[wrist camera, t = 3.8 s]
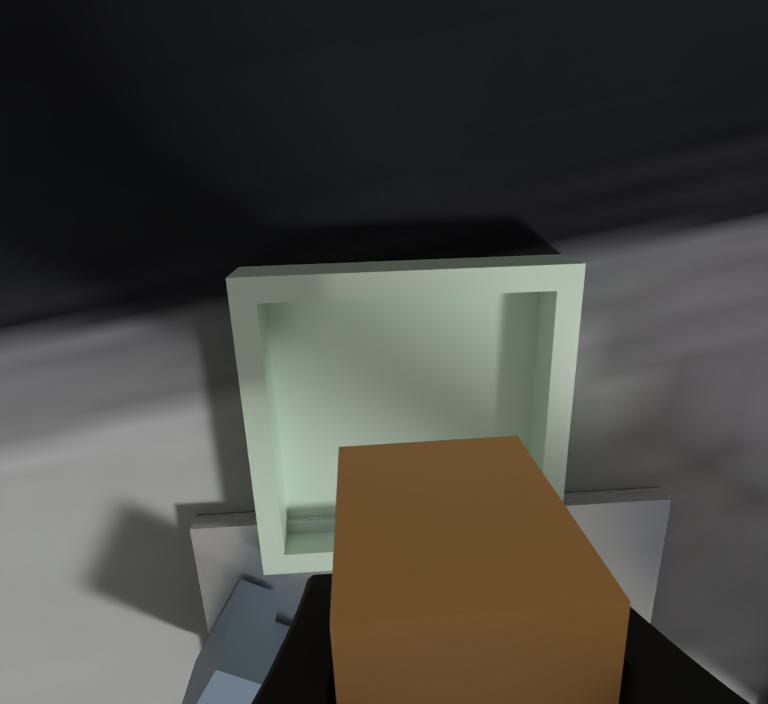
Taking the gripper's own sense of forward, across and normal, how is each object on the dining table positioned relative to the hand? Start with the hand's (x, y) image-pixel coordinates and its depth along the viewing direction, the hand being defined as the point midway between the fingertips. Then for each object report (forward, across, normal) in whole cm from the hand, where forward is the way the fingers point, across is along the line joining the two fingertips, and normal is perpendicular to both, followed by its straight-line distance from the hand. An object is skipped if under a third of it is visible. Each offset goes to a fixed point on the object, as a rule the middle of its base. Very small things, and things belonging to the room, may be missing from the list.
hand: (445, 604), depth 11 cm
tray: (+9, 0, 0) cm, 9 cm away
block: (+2, 0, -1) cm, 2 cm away
